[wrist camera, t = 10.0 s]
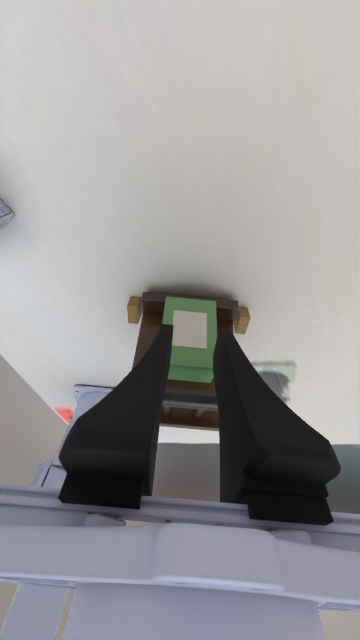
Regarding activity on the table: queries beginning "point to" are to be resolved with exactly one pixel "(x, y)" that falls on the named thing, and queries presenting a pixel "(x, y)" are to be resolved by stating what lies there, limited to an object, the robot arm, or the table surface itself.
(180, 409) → the stand
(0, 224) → the medicine box
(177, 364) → the packet
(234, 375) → the robot arm
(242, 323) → the hinge cheeks
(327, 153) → the table surface
